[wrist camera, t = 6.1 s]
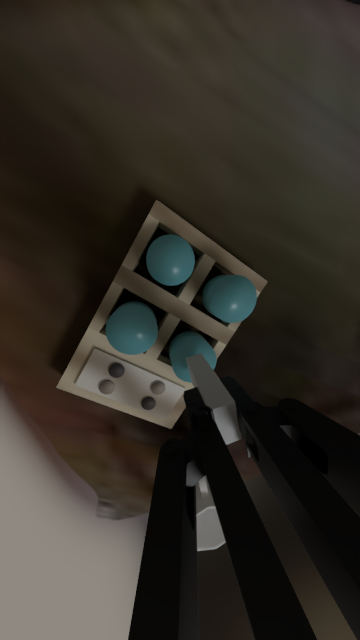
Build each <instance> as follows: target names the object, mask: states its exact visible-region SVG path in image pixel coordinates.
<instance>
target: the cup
mask: <svg viewBox="0 0 360 640" xmlns="http://www.w3.org/2000/svg"><path fill="white" fill-rule="evenodd" d="M196 518H197V551H201V550H210V549H217V548H218V547H220V546H221V545H223V544H224V543H226V542H225V539H224V535H223V532H222V528H221V525H220V522H219V518H218V515H217V511H216V508H215V505H214V501H213V498H212V494H211V491H210V488H209V484H208V481H207V477H206V475H205V476H204V477H203V478H202V479H201V480H200V481H198V482H197V483H196Z"/></svg>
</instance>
